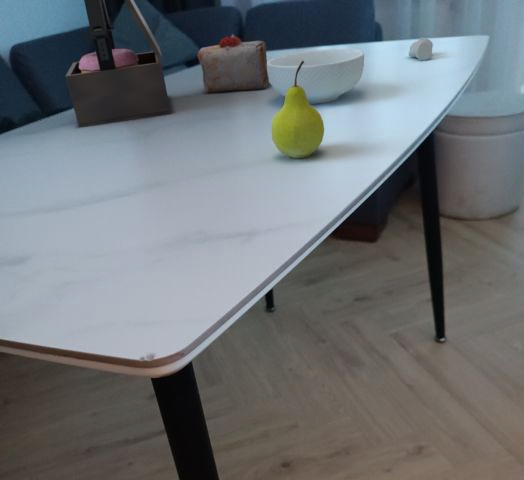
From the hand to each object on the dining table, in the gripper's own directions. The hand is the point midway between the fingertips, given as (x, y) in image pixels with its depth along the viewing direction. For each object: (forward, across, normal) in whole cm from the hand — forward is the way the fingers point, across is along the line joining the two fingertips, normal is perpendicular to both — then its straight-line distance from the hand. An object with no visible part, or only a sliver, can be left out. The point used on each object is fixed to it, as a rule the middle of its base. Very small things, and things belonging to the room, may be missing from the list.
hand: (111, 74), depth 110 cm
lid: (-10, 0, -6) cm, 12 cm away
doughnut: (+1, 0, 0) cm, 1 cm away
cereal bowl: (+7, -13, -36) cm, 38 cm away
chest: (+7, 0, -1) cm, 7 cm away
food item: (+7, +6, -24) cm, 25 cm away
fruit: (+7, -44, -25) cm, 51 cm away
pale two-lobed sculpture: (+7, +10, -64) cm, 65 cm away
